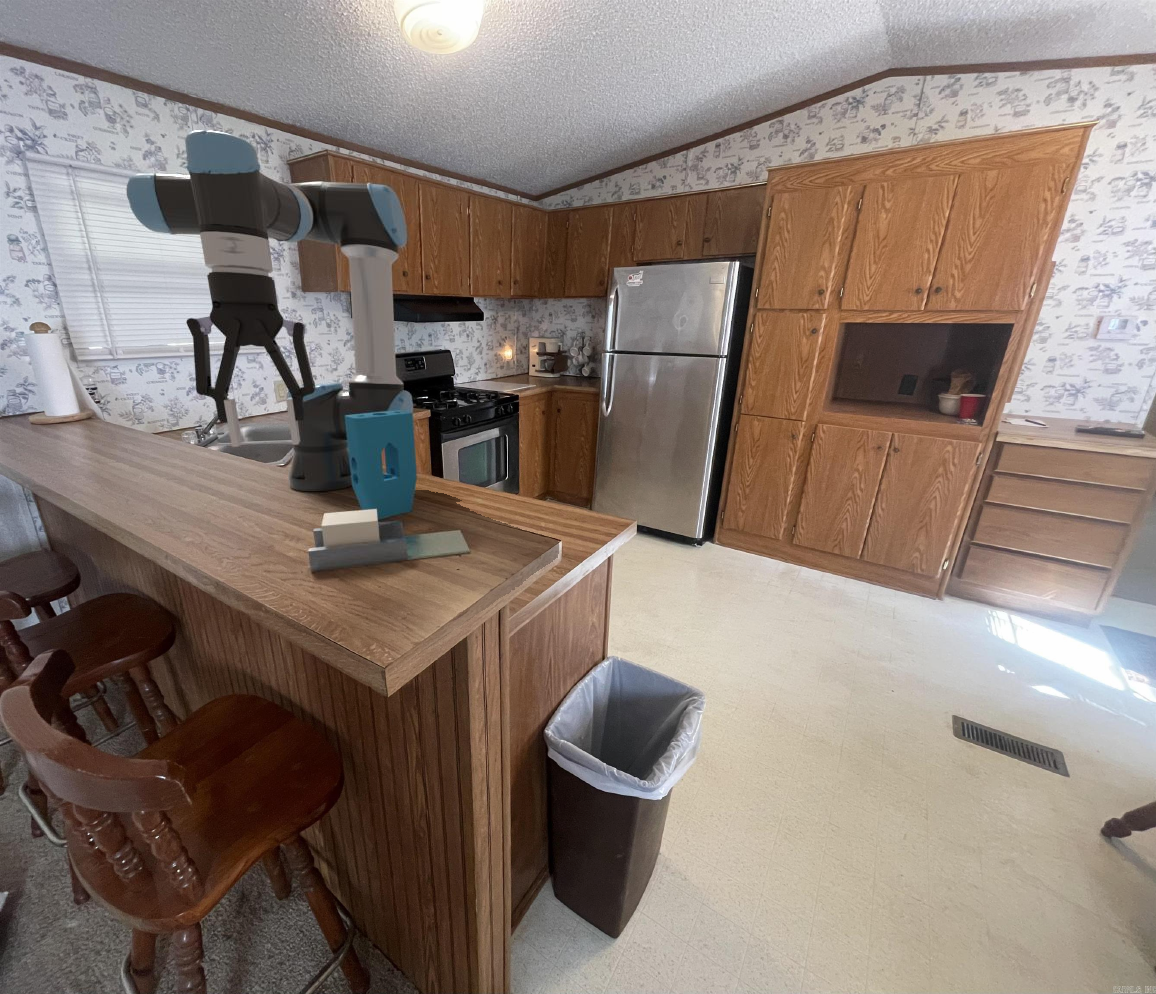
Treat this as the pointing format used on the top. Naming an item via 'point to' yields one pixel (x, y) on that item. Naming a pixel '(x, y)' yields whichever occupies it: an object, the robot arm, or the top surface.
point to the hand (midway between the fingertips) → (267, 443)
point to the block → (365, 457)
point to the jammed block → (350, 527)
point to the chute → (385, 548)
